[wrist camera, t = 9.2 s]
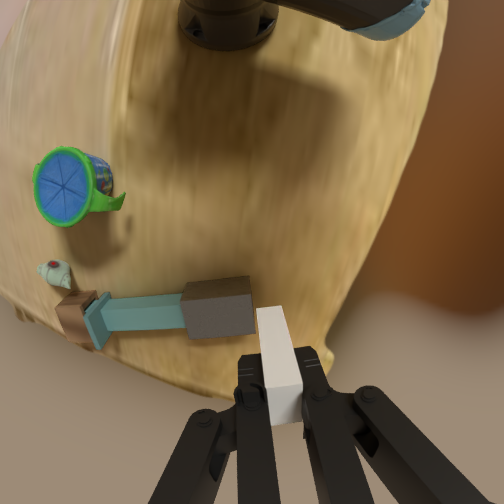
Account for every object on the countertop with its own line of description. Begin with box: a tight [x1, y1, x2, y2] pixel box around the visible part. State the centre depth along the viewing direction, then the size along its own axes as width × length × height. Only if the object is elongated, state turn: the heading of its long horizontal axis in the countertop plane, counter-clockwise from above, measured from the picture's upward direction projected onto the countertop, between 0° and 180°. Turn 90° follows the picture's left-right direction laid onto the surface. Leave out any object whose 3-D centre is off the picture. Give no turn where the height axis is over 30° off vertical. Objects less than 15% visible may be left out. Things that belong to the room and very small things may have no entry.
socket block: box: [55, 290, 99, 343], centre depth 42 cm, size 7×6×6 cm
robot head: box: [37, 260, 71, 289], centre depth 39 cm, size 8×4×7 cm, turn 69°
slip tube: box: [83, 292, 186, 350], centre depth 40 cm, size 6×24×9 cm, turn 96°
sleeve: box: [180, 276, 256, 339], centre depth 42 cm, size 7×10×6 cm, turn 96°
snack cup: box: [32, 146, 126, 228], centre depth 33 cm, size 16×10×10 cm
